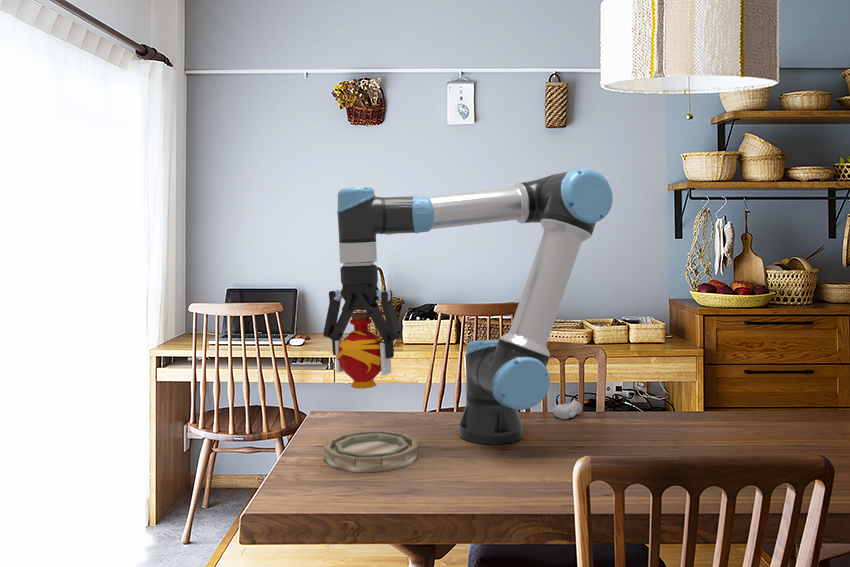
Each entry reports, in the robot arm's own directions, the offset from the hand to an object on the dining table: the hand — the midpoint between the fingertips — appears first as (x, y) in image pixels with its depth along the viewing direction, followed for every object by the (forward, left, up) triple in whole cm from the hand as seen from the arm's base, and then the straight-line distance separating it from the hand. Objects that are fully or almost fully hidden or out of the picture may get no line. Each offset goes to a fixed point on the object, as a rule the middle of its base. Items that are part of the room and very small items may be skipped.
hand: (363, 372), depth 135 cm
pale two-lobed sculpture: (-26, -57, -20) cm, 66 cm away
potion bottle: (0, 0, -3) cm, 3 cm away
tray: (+3, -7, -20) cm, 21 cm away
